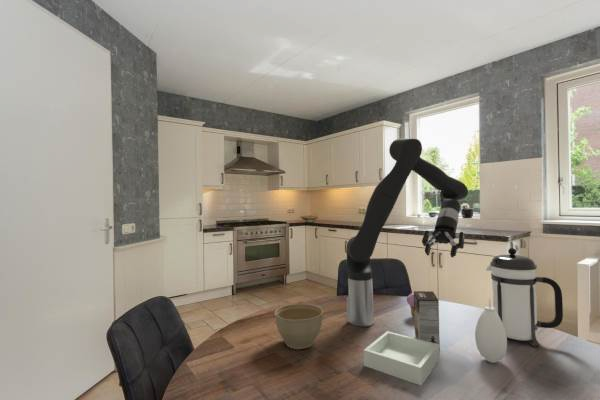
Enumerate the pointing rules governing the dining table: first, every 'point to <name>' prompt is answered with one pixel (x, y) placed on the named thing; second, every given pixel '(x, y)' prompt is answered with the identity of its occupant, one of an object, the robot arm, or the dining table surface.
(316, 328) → the planter bowl
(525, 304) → the coffee press
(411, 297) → the cupcake
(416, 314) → the coffee box
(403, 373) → the tub
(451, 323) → the dining table surface
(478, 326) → the sauce bottle
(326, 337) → the dining table surface
